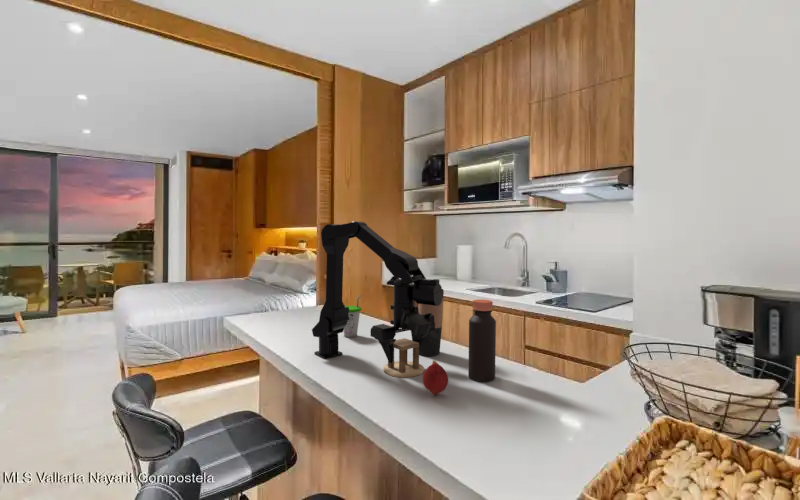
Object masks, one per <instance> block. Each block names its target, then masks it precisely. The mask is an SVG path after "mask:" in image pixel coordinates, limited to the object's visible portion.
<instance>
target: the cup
mask: <svg viewBox="0 0 800 500" xmlns="http://www.w3.org/2000/svg"><path fill="white" fill-rule="evenodd" d="M362 296H363V294H360V295H359V296H358V297H357V299H356V305H344V306H345V307H349V314H348V315H349V320H348V321H347V325H346V326H345V327H344V330H343V336H344V337H345V338H347V339H348V338H349V339H351V338H356V337H358V328H359V323H360V315H361V314H360V313H361V311H362V307H361V306H359V300H360V299H361V297H362Z"/></svg>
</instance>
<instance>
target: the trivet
mask: <svg viewBox="0 0 800 500" xmlns="http://www.w3.org/2000/svg"><path fill="white" fill-rule="evenodd" d="M383 372H384V373H385V374H386V375H388V376H389V377H390V376H391V377H395V378H414V377H418V376H420V375H423V374H424V372H425V368H424V365H422V364H421V363H419V369H414V368H413V361H408V360H407V364H406V372H405V373H400V372H399V361H394V368H389V367H388V363H387V364H385V365H384V366H383Z"/></svg>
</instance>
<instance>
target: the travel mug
mask: <svg viewBox="0 0 800 500" xmlns="http://www.w3.org/2000/svg"><path fill="white" fill-rule="evenodd" d="M442 291H443V296H444V291H445V290H444V289H443V288H442ZM417 306H418V309H419V310H418V311H419V314H421V315H422V314H424V315H425V314H428V313H432V314H433V315H434V322H435V330H431V331H432V332H431V333H430V334H428V335H427V336H426V337H425V338H424V341H423V343H422V346H421V349H420V352H419V356H420V355H421V356H424V357H436V356H438V355H440V353H441V352H440V351H441V350H440V349H441V340H442V329H443V313H444V298H443V299H442V302H441V304H440V305H439V306H434V305H425V304H418V305H417Z"/></svg>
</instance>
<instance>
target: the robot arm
mask: <svg viewBox="0 0 800 500" xmlns="http://www.w3.org/2000/svg"><path fill="white" fill-rule="evenodd" d="M320 237H321V246H322V247H323V250H324V251H325V253H326V266H325V268H326V272H325V274H326V276H325V277H326V279H325V302H324V304H323V306H322V308H321V310H320V313H319V319H318V320H319V321H318V322H317V323H316V324H315V325H314V327H312V329H311V331H312V336H313V337H314V338H318V350H317V351H314V355H316V356H318V357H320V358H323V359H328V358H332V357H333V358H334V357H337V356H342V355H343V352H342V351H340V350H339V334H340V333H344V327H345V326H346V325H347V321H348V320H349V315H348V314H349V307H345V306H346V305H345V304H344V302H343V281H344V278H343V277H344V274H343V273H344V255H345V253H346V250H347V249H348V246H349V242H350V239H354V238H356V239H358V240H359V241H360V242H361V243H362V244H363V245H365V246H366V248H368V249H369V250H371V251H372V252H373V253H374V254H376V255H377V256H378V257H379V259H381V260H382V261H383V262H384V265H385V268H386V269H387V270H388V271H389V273H390V274H391V275H392V276H391V278H390V279H389V280H388V281H387V282H386V285H388V286H393V304H392V305H390V310H393V319H390V325H389V324H385V323H382V324H376V325H372V327H371V328H370V337H372V338H374V339H375V340H377V341H378V343H379V344H380V346H381V348H382V351H383V352H384V356H386V359H387V362H388V361H389V363H392V362H393V344H394V342H395V341H396V340H397V339H395V337H396V334H399V333H402V332H407V331H410V333H411V335H410V336H411V340H412V341H415V342H418V343H419V352H420V349H421V346H422V343H423V341H424V338H425V337H426V336H427V335H428V334H430V333H431V332H432V331H431V330H435V322H434V315H433V314H432V313H428V314H425V315H424V314H422V315H421V314H419V311H418V310H419V309H418V306H419V304H425V305H434V306H439V305H440V304H441V302H442V299H443V300H444V295H443V291H442V289H443V287H442V285H441V283H440V279H438V278H434V279H433V278H432V279H429V278H428V279H427V278H426V276H425V274H424V273H423V271H422V270H421V269H420V267H419V260H417V258H416V257H415V256H413V255H411V254H409V253H407V252H405V251H403V250H400V249H397V248H396V247H395V246H393V245H392V244H390V242H388V241H386V239H384V238H383V237H382V236H381V235H379V234H378V233H377V232H376V231H374V230H373V229H372V228H371V227H369V226H368V224H367V223H366V222H364V221H355V220H354V221H352V222H348V223H342V224H338V223H337V224H335V223H334V224H333V223H332V224H331V223H328V224H326V225H324V227H322V229H321V232H320ZM416 304H418V305H416ZM391 325H392V326H391Z"/></svg>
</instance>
